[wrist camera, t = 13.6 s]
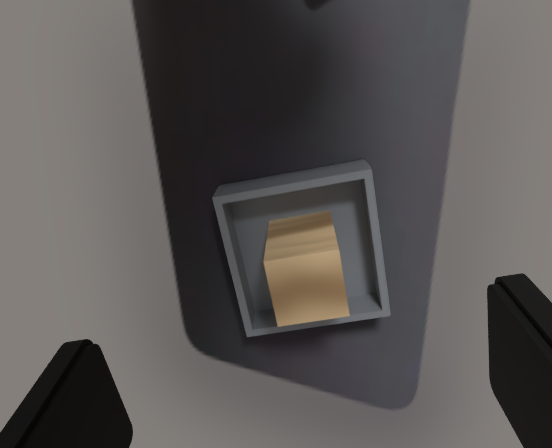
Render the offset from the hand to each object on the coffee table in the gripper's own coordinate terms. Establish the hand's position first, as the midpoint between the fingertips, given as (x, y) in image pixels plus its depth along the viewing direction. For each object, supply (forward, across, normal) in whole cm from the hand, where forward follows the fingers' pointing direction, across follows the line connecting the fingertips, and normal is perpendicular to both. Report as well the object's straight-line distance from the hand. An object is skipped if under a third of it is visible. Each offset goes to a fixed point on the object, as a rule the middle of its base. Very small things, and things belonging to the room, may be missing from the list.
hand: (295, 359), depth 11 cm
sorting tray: (+27, +1, +10) cm, 29 cm away
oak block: (+26, +1, +10) cm, 28 cm away
